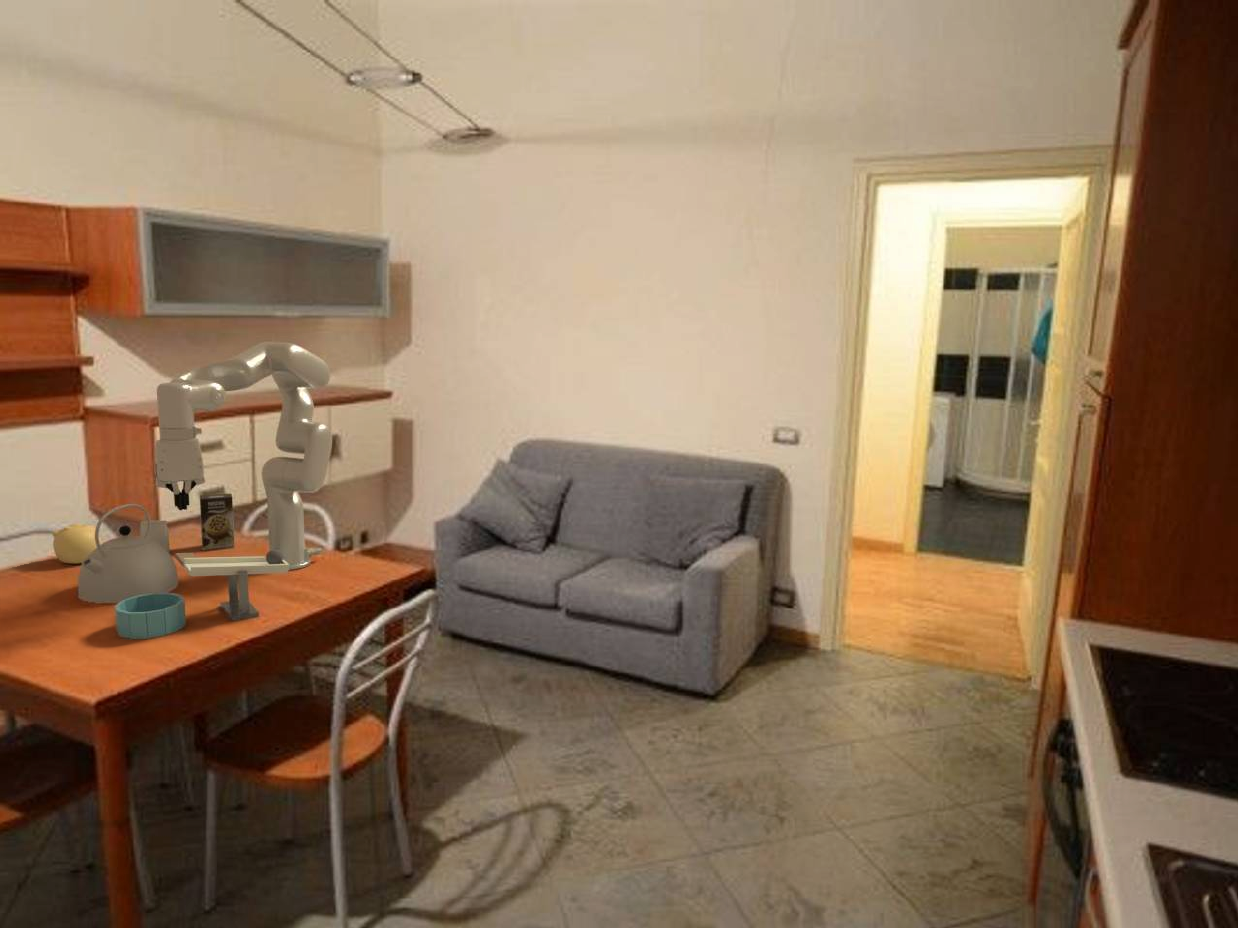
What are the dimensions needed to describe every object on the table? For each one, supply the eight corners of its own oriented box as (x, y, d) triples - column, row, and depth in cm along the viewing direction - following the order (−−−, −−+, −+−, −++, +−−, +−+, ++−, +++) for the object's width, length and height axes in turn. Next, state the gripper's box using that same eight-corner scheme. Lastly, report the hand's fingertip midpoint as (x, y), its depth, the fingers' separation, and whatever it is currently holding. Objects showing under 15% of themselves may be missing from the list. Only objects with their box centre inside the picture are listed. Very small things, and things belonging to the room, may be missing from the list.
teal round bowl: (178, 612, 201) (176, 589, 200) (190, 630, 191) (188, 605, 190) (113, 624, 193) (111, 599, 192) (122, 643, 183) (120, 617, 182)
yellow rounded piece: (98, 552, 247) (95, 517, 245) (106, 562, 238) (103, 526, 236) (52, 559, 240) (48, 523, 238) (59, 569, 231) (55, 532, 229)
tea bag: (166, 554, 247) (164, 522, 246) (141, 555, 246) (138, 523, 244) (169, 551, 251) (167, 519, 249) (144, 552, 249) (142, 519, 247)
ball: (277, 564, 209) (282, 549, 210) (282, 568, 206) (287, 552, 206) (261, 561, 207) (266, 546, 207) (266, 566, 204) (271, 550, 204)
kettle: (126, 611, 202) (119, 521, 198) (48, 602, 207) (39, 514, 202) (197, 579, 226) (192, 499, 222) (126, 572, 231) (119, 493, 227)
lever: (267, 559, 219) (268, 547, 219) (288, 578, 205) (289, 564, 205) (174, 561, 206) (175, 548, 205) (190, 581, 191) (191, 567, 191)
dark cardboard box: (202, 550, 252) (199, 499, 249) (202, 545, 258) (198, 494, 255) (235, 547, 256) (232, 496, 253) (234, 542, 262) (231, 492, 259)
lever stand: (246, 601, 210) (243, 558, 208) (259, 616, 201) (256, 570, 199) (220, 606, 206) (217, 562, 204) (232, 621, 197) (229, 574, 195)
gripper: (207, 430, 206) (212, 502, 209) (139, 434, 197) (144, 509, 200) (215, 434, 200) (219, 508, 204) (144, 438, 191) (150, 515, 195)
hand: (182, 508), depth 202 cm, fingers closed
